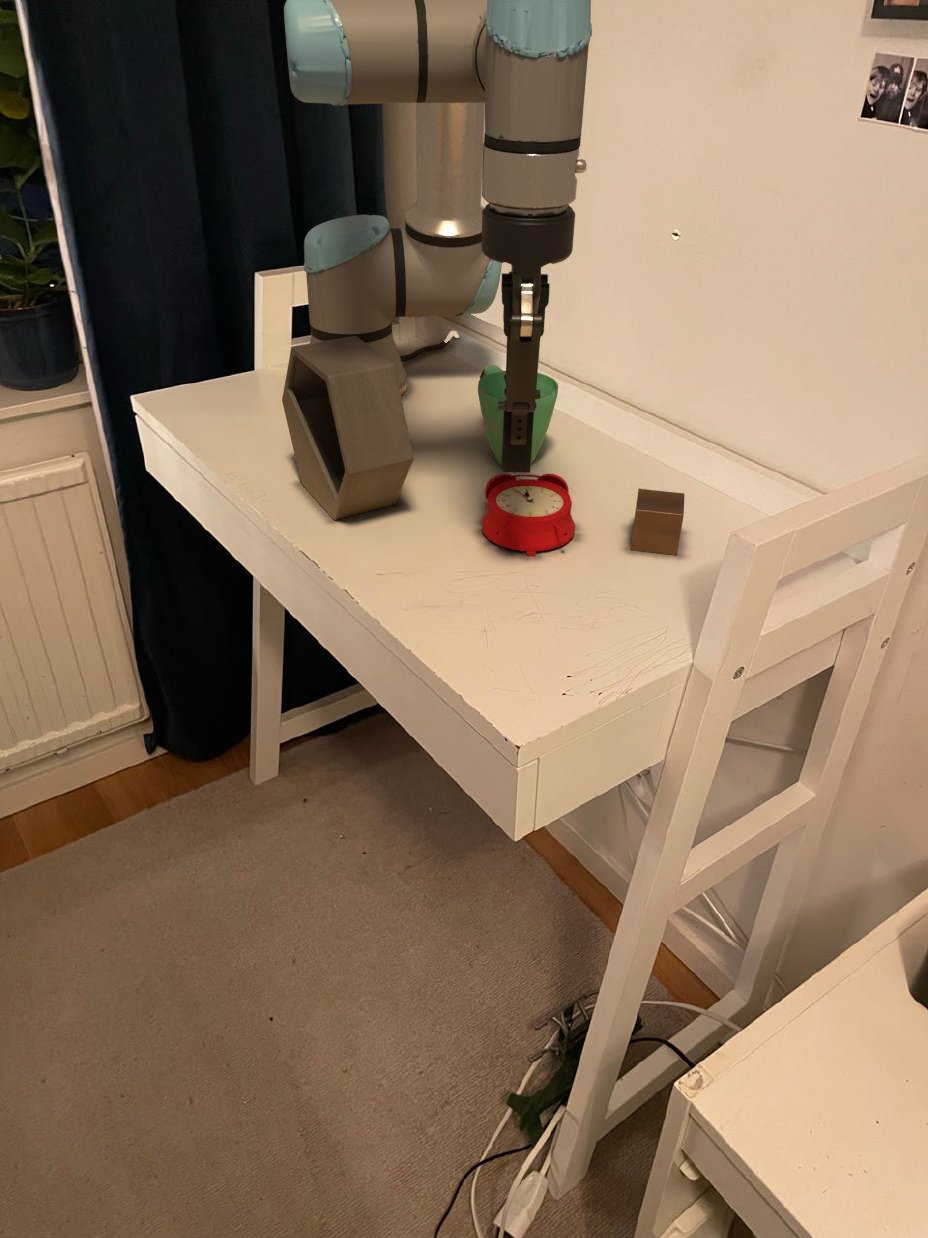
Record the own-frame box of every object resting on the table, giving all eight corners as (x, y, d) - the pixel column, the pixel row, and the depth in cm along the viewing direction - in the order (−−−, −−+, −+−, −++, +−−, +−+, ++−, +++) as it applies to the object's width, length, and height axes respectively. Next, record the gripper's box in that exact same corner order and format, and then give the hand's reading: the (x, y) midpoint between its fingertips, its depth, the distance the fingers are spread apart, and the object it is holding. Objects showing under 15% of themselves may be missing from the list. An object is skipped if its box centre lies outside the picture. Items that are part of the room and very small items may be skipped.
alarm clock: (483, 529, 97) (481, 440, 107) (481, 571, 102) (480, 482, 112) (582, 530, 98) (572, 441, 107) (576, 572, 102) (567, 483, 112)
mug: (566, 469, 117) (572, 393, 112) (495, 482, 114) (497, 404, 108) (517, 424, 128) (520, 353, 123) (451, 435, 125) (451, 362, 120)
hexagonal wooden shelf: (276, 426, 116) (297, 311, 97) (334, 414, 119) (364, 301, 101) (326, 543, 111) (357, 445, 93) (385, 527, 114) (426, 429, 96)
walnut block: (633, 527, 105) (638, 488, 103) (678, 532, 105) (684, 492, 102) (630, 550, 101) (635, 509, 99) (677, 555, 101) (683, 514, 98)
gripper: (582, 225, 70) (559, 503, 84) (570, 187, 80) (551, 439, 94) (481, 224, 70) (475, 501, 84) (483, 185, 80) (477, 438, 94)
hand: (515, 468), depth 89 cm, fingers closed
